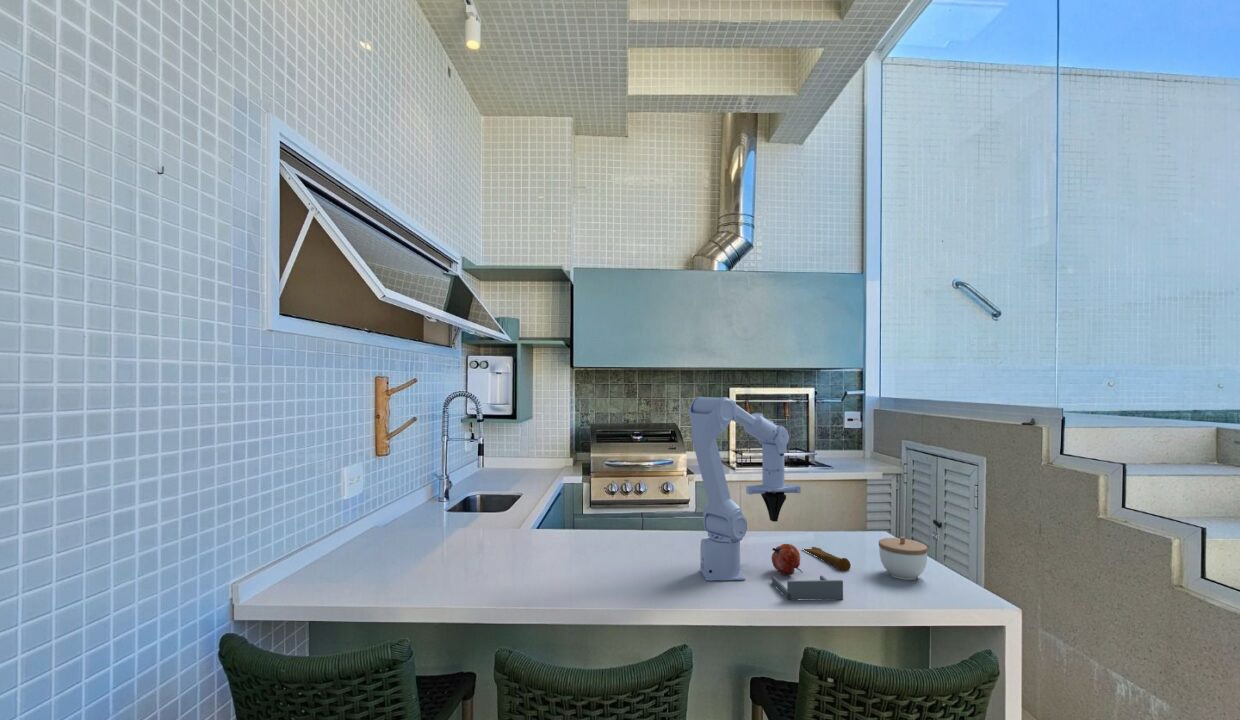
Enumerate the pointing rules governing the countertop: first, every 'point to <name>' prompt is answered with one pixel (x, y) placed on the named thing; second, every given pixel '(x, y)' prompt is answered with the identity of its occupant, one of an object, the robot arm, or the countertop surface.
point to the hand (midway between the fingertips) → (773, 520)
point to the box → (811, 589)
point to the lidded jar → (903, 557)
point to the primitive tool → (830, 558)
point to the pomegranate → (786, 559)
